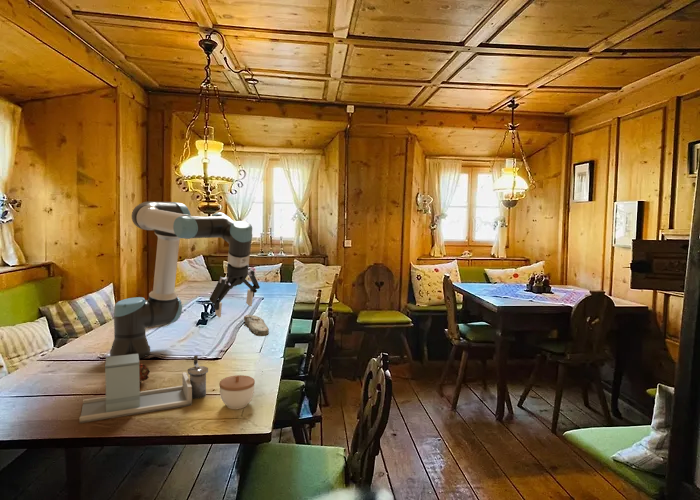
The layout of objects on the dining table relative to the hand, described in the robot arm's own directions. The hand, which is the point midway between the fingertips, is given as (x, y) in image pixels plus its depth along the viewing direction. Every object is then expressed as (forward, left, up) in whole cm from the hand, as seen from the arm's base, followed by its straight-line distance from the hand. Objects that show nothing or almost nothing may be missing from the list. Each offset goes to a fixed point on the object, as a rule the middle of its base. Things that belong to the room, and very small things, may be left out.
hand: (233, 309), depth 173 cm
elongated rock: (-23, +61, -24) cm, 69 cm away
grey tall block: (-14, -41, -23) cm, 49 cm away
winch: (+2, -26, -23) cm, 35 cm away
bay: (-11, -39, -23) cm, 46 cm away
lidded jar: (+18, -29, -23) cm, 41 cm away
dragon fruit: (-25, -26, -23) cm, 43 cm away
